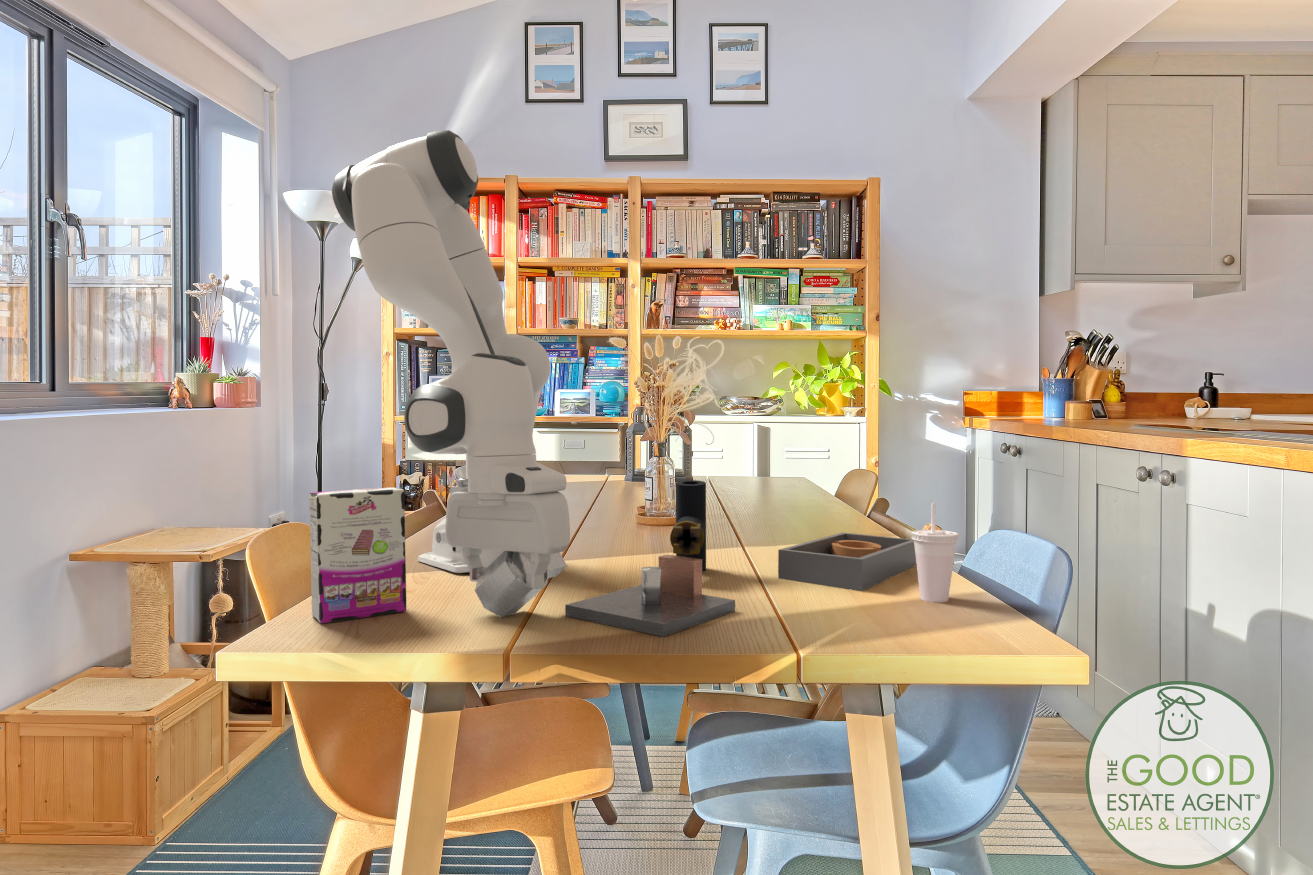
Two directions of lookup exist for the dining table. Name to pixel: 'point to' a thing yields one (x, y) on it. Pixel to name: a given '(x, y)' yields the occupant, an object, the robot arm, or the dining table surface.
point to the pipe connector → (690, 521)
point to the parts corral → (845, 562)
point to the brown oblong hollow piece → (854, 548)
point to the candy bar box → (357, 553)
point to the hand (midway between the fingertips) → (506, 584)
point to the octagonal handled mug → (511, 581)
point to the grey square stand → (656, 600)
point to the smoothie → (934, 560)
